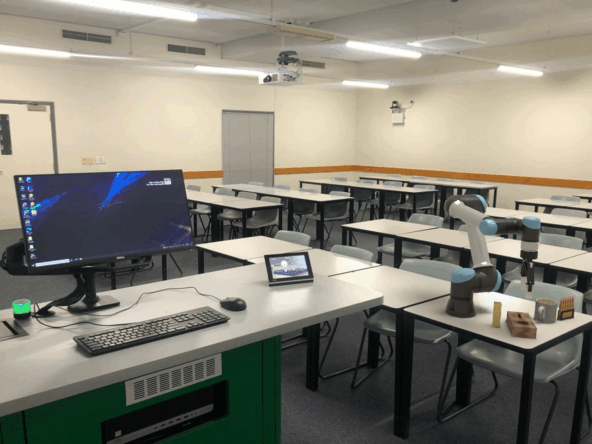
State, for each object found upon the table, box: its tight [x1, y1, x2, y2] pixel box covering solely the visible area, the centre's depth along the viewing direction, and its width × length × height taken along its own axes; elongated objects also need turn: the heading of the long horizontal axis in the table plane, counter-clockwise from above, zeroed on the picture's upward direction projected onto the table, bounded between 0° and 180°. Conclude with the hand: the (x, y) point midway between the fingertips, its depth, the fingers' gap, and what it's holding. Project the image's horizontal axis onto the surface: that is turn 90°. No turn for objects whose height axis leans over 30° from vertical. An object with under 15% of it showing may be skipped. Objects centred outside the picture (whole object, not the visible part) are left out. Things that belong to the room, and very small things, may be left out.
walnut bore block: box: [506, 310, 538, 339], centre depth 243 cm, size 10×22×5 cm, turn 165°
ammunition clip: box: [556, 295, 575, 322], centre depth 257 cm, size 11×2×12 cm, turn 116°
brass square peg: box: [491, 300, 503, 328], centre depth 246 cm, size 3×3×12 cm
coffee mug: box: [533, 297, 558, 324], centre depth 254 cm, size 13×10×10 cm
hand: (525, 294), depth 236 cm, fingers open, 13 cm apart
